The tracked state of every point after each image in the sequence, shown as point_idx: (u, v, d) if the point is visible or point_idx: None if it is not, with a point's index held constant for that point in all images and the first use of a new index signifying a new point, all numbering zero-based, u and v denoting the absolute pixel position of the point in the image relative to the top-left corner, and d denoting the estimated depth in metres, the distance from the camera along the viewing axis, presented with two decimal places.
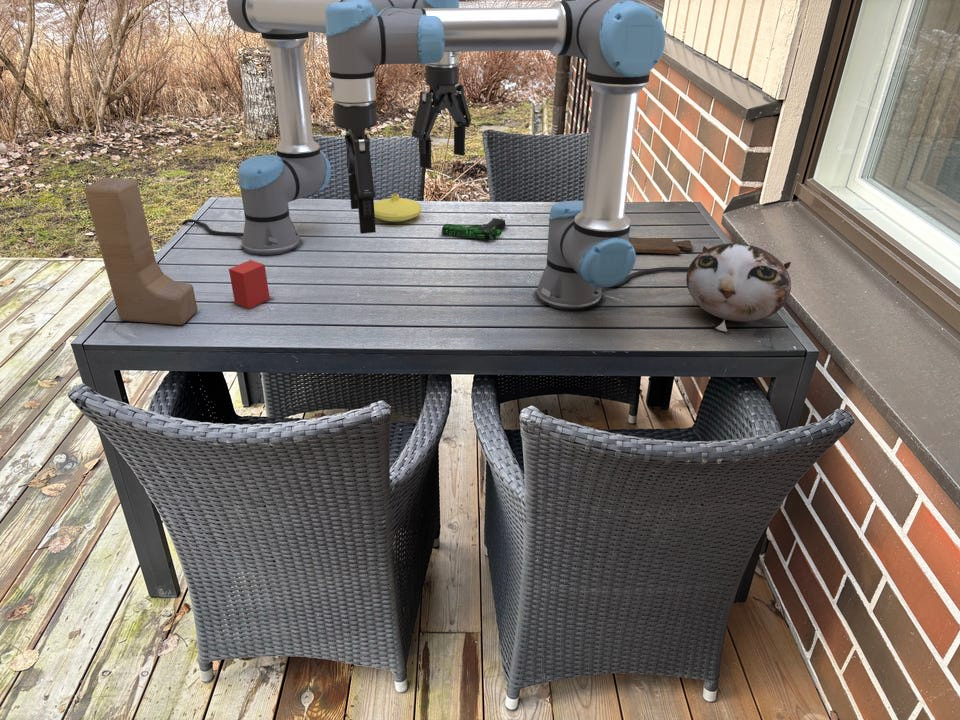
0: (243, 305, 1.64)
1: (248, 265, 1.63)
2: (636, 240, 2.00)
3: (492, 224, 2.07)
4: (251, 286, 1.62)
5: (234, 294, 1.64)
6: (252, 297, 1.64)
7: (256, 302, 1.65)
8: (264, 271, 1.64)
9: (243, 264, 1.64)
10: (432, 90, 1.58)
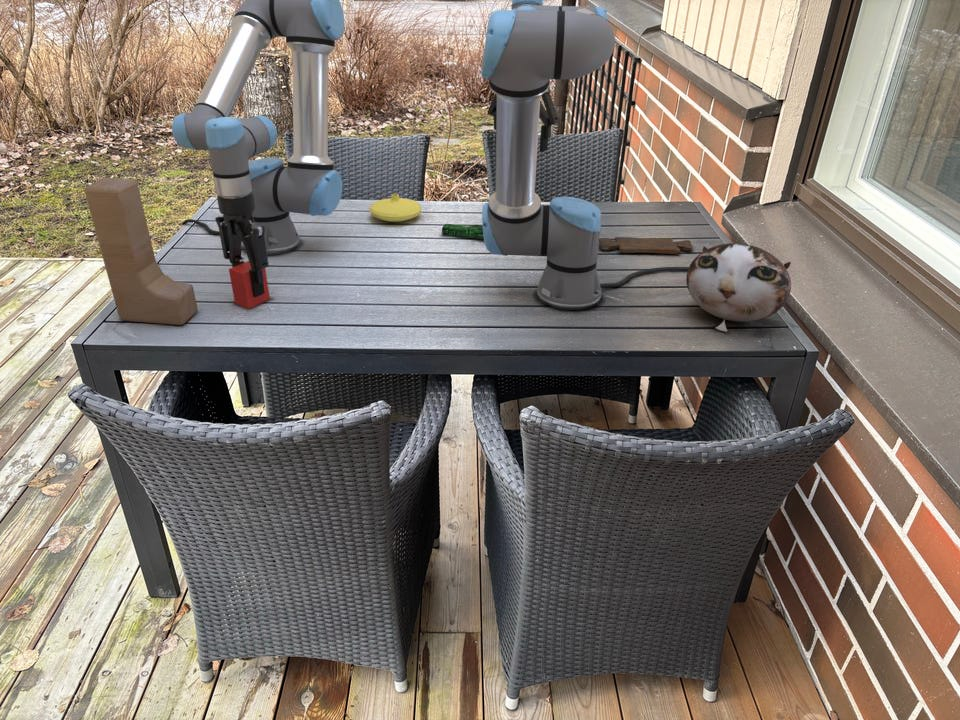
0: (243, 305, 1.64)
1: (248, 265, 1.63)
2: (636, 240, 2.00)
3: None
4: (251, 286, 1.62)
5: (234, 294, 1.64)
6: (252, 297, 1.64)
7: (256, 302, 1.65)
8: (264, 271, 1.64)
9: (243, 264, 1.64)
10: (249, 218, 1.55)
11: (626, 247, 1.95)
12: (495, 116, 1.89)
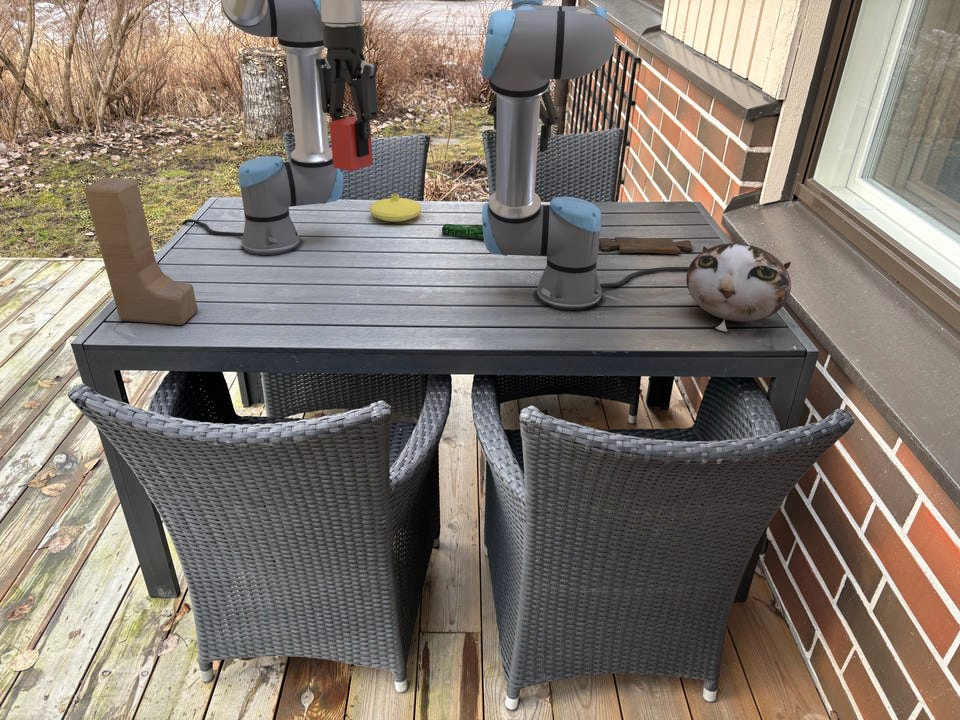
0: (344, 167, 1.40)
1: (351, 120, 1.39)
2: (636, 240, 2.00)
3: None
4: (354, 143, 1.38)
5: (333, 155, 1.40)
6: (355, 158, 1.40)
7: (359, 165, 1.41)
8: None
9: (345, 119, 1.40)
10: (359, 55, 1.31)
11: (626, 247, 1.95)
12: (495, 116, 1.89)
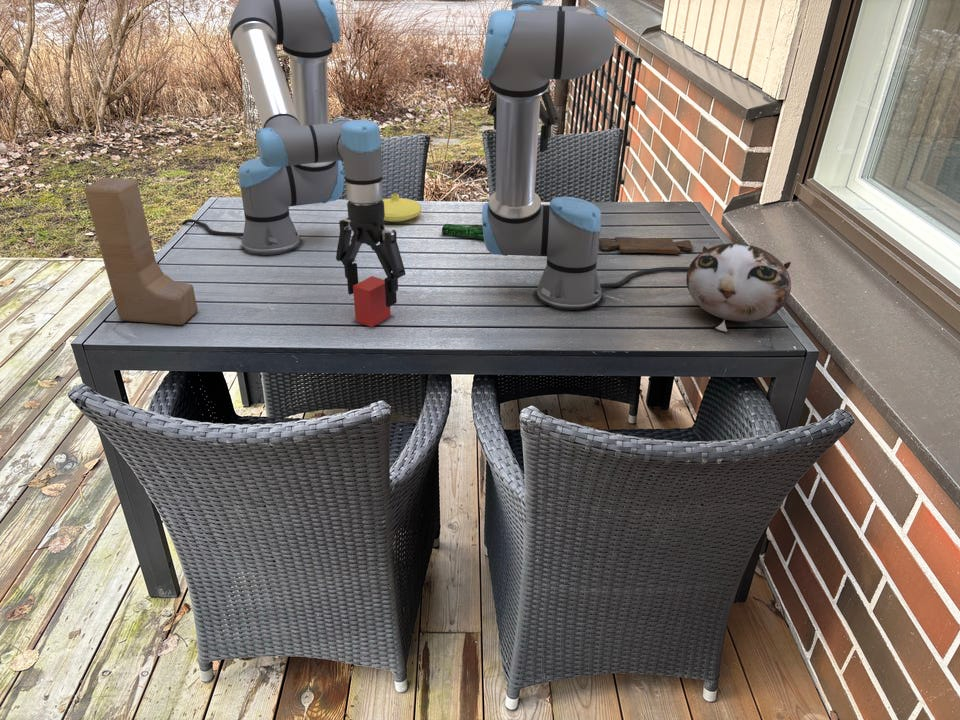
0: (366, 323, 1.57)
1: (372, 282, 1.56)
2: (636, 240, 2.00)
3: None
4: (375, 304, 1.55)
5: (356, 312, 1.57)
6: (376, 315, 1.57)
7: (378, 320, 1.58)
8: None
9: (366, 280, 1.57)
10: (380, 226, 1.47)
11: (626, 247, 1.95)
12: (495, 116, 1.89)
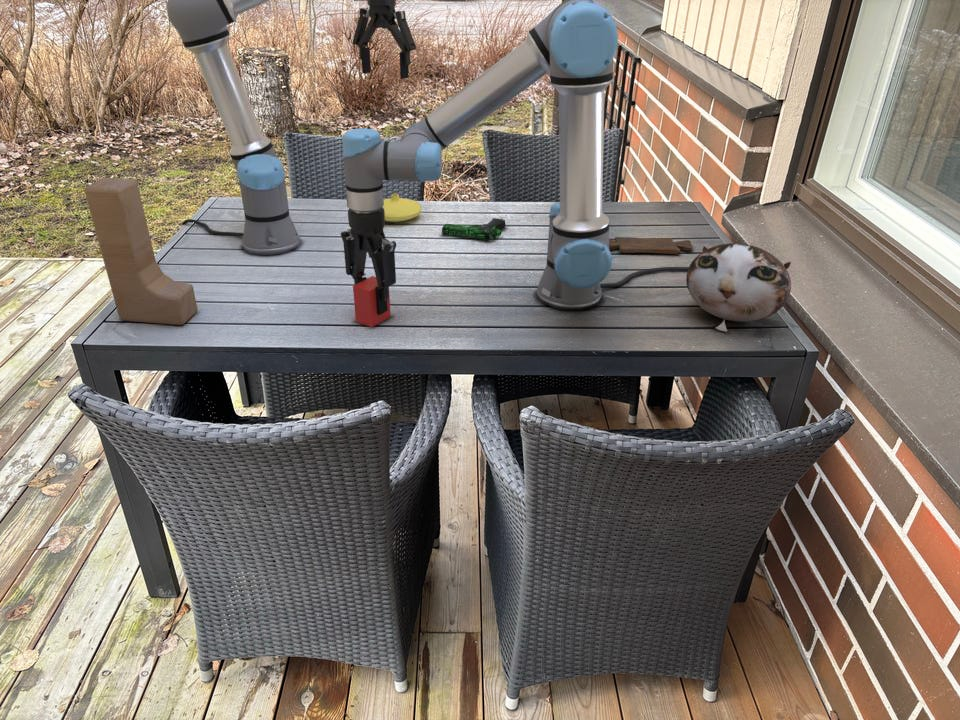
0: (366, 323, 1.57)
1: (372, 282, 1.56)
2: (636, 240, 2.00)
3: (492, 224, 2.07)
4: (375, 304, 1.55)
5: (356, 312, 1.57)
6: (376, 315, 1.57)
7: (378, 320, 1.58)
8: None
9: (366, 280, 1.57)
10: (392, 10, 1.87)
11: (626, 247, 1.95)
12: (355, 277, 1.56)
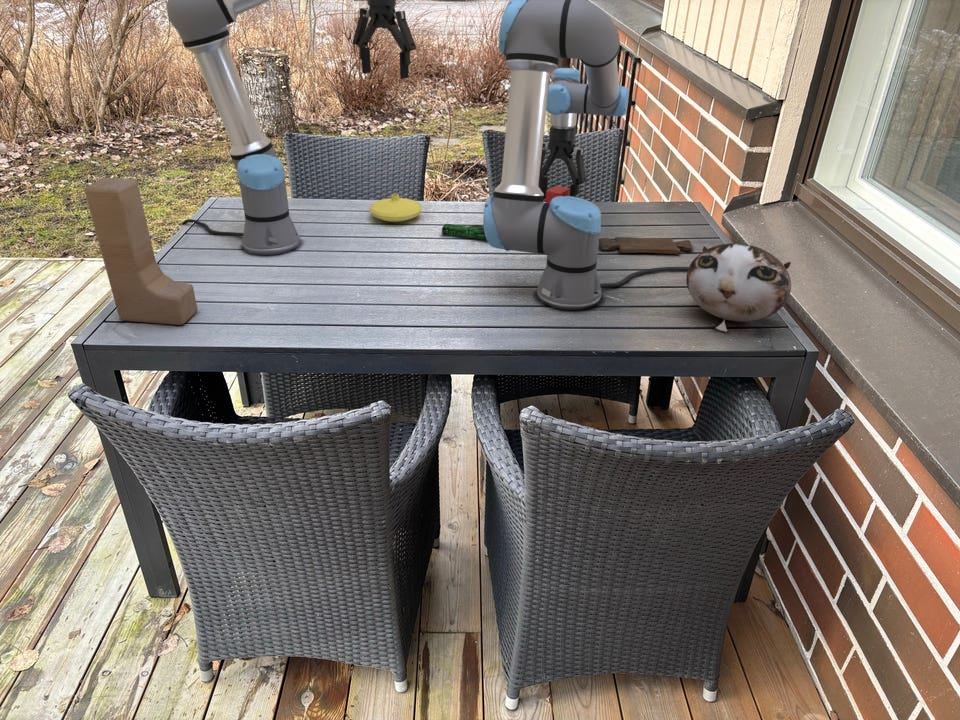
0: None
1: (559, 189, 2.16)
2: (636, 240, 2.00)
3: None
4: None
5: None
6: None
7: None
8: (569, 193, 2.17)
9: (554, 188, 2.16)
10: (392, 10, 1.87)
11: (626, 247, 1.95)
12: (541, 176, 2.15)
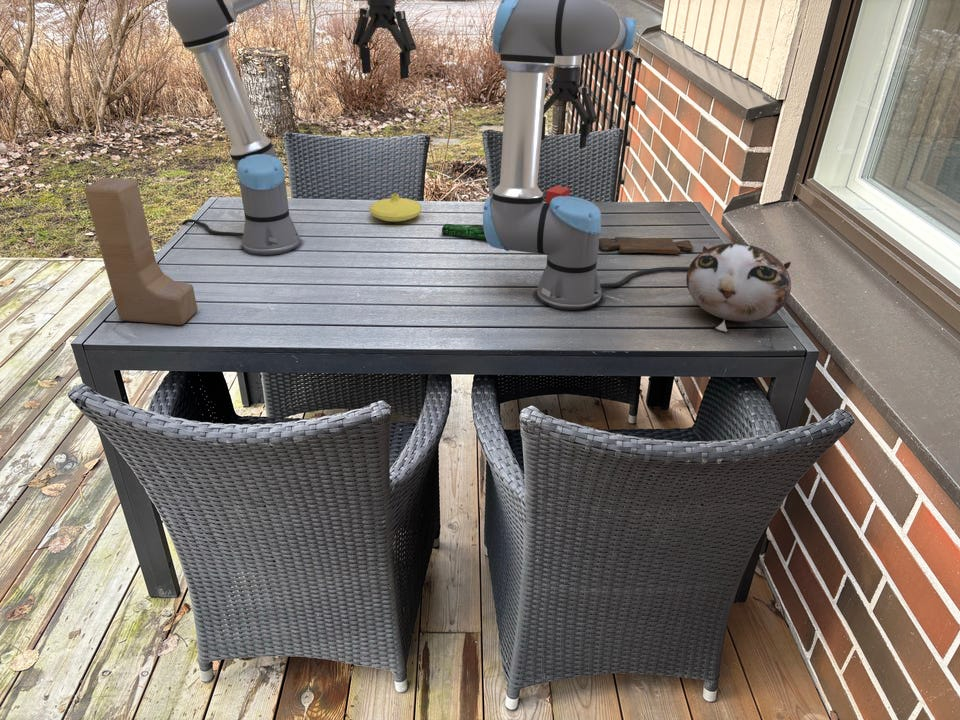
0: None
1: (559, 189, 2.16)
2: (636, 240, 2.00)
3: None
4: None
5: None
6: None
7: None
8: (569, 193, 2.17)
9: (554, 188, 2.16)
10: (392, 10, 1.87)
11: (626, 247, 1.95)
12: None
